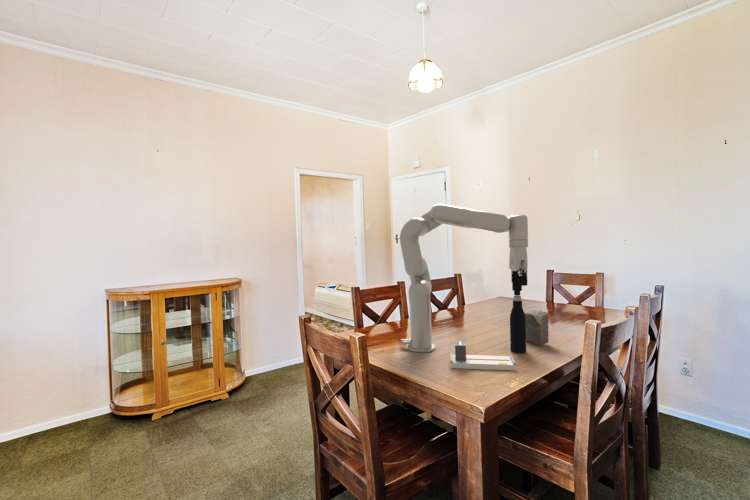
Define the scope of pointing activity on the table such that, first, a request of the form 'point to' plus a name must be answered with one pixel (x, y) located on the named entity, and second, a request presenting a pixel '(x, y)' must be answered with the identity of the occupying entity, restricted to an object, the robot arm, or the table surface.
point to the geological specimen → (537, 326)
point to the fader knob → (460, 350)
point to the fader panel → (484, 362)
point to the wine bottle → (517, 323)
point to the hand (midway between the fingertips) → (519, 284)
